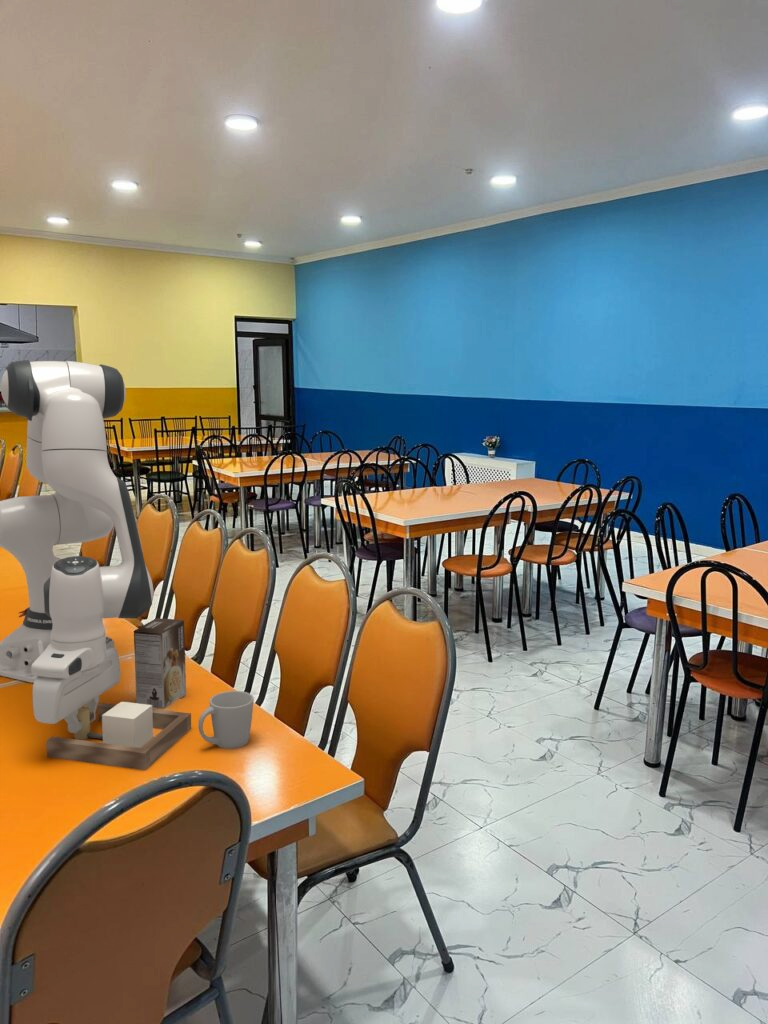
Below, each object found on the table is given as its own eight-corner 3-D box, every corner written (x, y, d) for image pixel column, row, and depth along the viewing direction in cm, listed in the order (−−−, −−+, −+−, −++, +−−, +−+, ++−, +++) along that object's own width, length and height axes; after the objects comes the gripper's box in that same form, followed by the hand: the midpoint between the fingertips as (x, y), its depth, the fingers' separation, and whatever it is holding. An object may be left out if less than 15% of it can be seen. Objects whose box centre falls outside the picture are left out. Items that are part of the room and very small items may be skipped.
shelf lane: (47, 760, 124) (46, 740, 123) (103, 721, 139) (102, 702, 139) (145, 774, 120) (144, 753, 119) (191, 732, 135) (191, 713, 135)
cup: (262, 746, 130) (262, 700, 129) (210, 763, 124) (209, 715, 123) (240, 731, 136) (240, 687, 135) (189, 747, 130) (188, 700, 128)
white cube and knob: (65, 743, 128) (63, 710, 128) (86, 728, 134) (85, 697, 133) (134, 752, 126) (133, 719, 125) (153, 737, 131) (152, 705, 131)
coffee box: (158, 691, 154) (156, 616, 151) (187, 694, 152) (185, 619, 150) (135, 709, 145) (132, 630, 142) (165, 712, 144) (163, 632, 141)
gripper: (97, 632, 140) (100, 701, 142) (23, 669, 120) (27, 749, 122) (128, 634, 138) (130, 705, 140) (58, 673, 118) (62, 754, 120)
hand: (82, 726), depth 131 cm, fingers closed on white cube and knob, 3 cm apart
